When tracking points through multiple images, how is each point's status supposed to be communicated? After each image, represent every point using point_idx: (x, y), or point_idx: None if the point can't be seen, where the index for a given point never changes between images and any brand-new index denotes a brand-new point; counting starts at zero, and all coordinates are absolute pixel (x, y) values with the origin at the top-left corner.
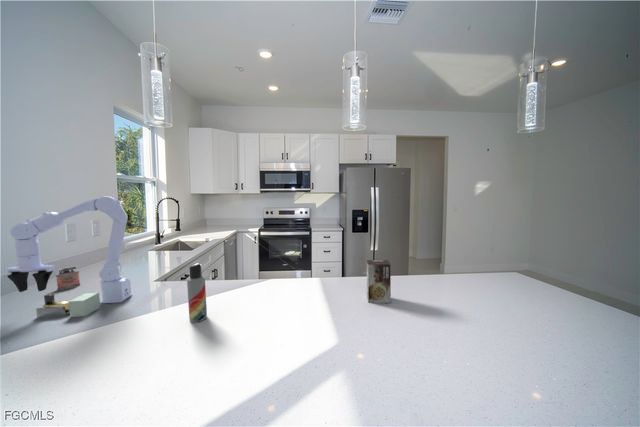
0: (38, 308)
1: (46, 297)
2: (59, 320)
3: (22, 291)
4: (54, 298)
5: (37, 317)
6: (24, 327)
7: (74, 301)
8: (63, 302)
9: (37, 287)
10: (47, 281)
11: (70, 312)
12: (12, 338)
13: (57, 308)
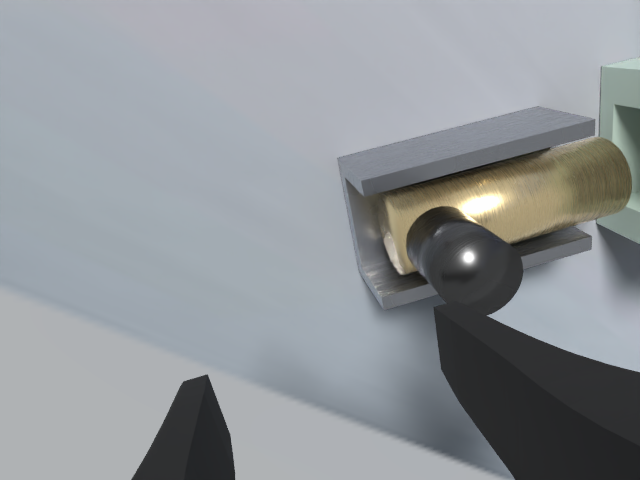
0: (400, 303)
1: (486, 306)
2: (560, 271)
3: (226, 426)
4: (486, 228)
5: (360, 271)
6: (424, 374)
7: None
8: (562, 210)
9: (473, 420)
10: (542, 346)
11: (627, 235)
12: (488, 450)
13: (543, 257)
